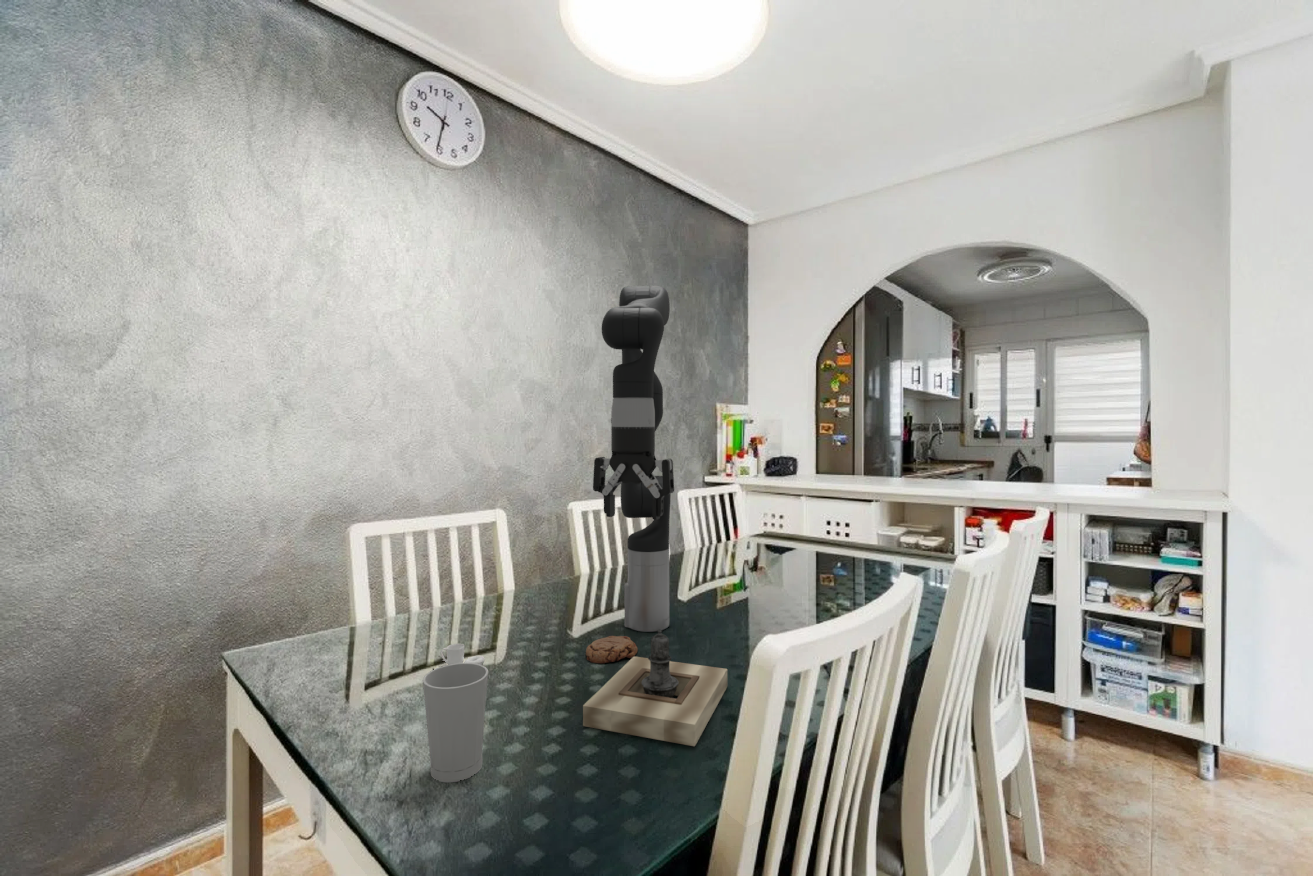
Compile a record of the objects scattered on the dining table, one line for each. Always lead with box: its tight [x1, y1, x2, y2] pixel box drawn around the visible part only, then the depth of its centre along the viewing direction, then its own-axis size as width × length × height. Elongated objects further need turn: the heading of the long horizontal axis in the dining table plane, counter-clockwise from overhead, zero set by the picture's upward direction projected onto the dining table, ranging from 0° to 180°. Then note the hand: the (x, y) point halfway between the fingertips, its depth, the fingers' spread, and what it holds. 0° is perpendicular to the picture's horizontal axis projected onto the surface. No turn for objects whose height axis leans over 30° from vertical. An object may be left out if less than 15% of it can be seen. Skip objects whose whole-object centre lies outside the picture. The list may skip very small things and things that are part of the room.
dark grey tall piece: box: [641, 629, 679, 698], centre depth 93 cm, size 6×6×12 cm
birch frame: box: [582, 655, 728, 747], centre depth 93 cm, size 17×20×3 cm
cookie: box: [585, 635, 639, 664], centre depth 114 cm, size 10×11×3 cm
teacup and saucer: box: [440, 643, 485, 665], centre depth 109 cm, size 9×8×4 cm
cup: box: [422, 662, 489, 783], centre depth 76 cm, size 8×8×12 cm
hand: (633, 517), depth 102 cm, fingers open, 8 cm apart
